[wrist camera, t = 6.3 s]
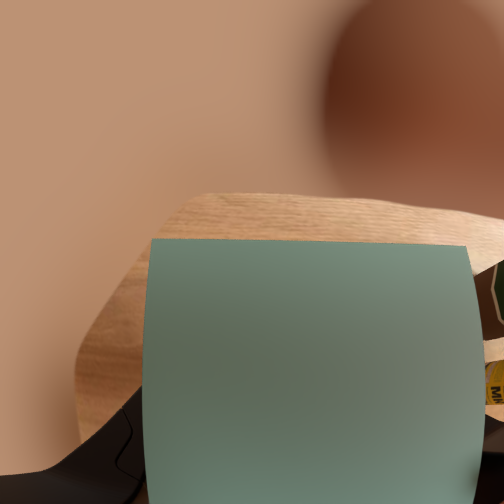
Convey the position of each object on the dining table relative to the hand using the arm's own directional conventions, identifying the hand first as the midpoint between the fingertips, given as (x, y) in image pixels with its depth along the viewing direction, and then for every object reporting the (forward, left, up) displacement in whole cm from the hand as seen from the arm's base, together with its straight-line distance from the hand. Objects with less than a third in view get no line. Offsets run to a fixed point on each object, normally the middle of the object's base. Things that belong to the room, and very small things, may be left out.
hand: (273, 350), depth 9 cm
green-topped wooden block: (-1, -1, -7) cm, 7 cm away
